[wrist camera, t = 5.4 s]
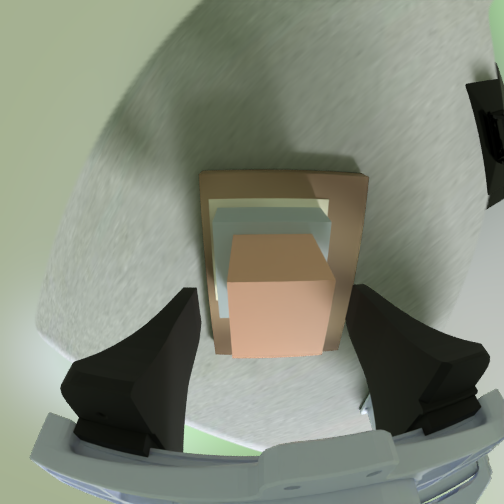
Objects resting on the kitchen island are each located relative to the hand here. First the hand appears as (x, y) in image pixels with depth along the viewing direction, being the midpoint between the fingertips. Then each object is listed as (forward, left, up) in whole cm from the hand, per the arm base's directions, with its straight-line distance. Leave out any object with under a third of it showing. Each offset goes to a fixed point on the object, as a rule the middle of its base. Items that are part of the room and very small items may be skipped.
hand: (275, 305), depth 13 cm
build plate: (+10, -20, -7) cm, 23 cm away
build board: (-2, -1, -7) cm, 7 cm away
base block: (0, 0, -5) cm, 5 cm away
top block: (0, 0, -3) cm, 3 cm away
